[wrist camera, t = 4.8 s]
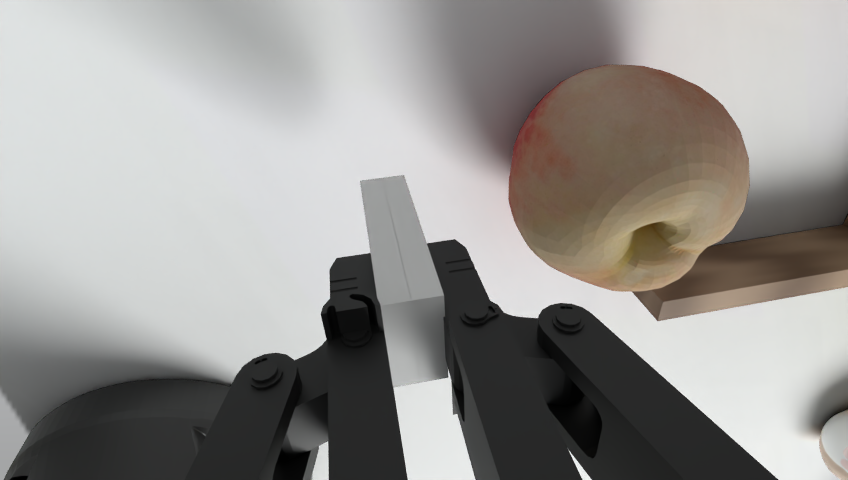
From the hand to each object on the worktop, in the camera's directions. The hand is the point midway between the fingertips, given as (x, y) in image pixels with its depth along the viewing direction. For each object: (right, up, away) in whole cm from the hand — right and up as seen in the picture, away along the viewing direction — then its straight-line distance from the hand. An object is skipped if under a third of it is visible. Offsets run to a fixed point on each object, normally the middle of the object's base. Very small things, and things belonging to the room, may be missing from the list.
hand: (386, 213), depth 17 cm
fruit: (+8, +3, +5) cm, 10 cm away
